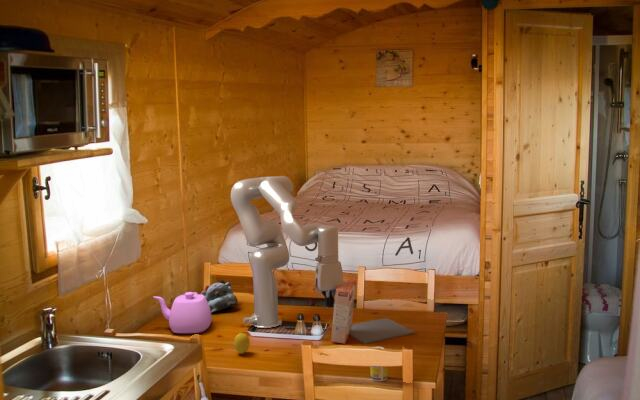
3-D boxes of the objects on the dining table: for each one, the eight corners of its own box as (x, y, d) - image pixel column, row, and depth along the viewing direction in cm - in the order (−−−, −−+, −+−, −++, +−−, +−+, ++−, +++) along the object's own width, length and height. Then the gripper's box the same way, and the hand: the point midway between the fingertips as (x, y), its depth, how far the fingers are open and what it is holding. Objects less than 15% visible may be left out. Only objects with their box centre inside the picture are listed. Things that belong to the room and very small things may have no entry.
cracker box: (346, 344, 258) (351, 291, 253) (330, 342, 259) (334, 289, 254) (352, 330, 271) (356, 279, 267) (337, 328, 272) (341, 277, 268)
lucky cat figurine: (203, 315, 296) (194, 284, 300) (209, 318, 308) (201, 288, 312) (236, 304, 297) (227, 273, 300) (241, 307, 308) (233, 277, 312)
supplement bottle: (384, 374, 229) (384, 344, 228) (389, 381, 224) (389, 350, 222) (368, 376, 228) (368, 346, 227) (372, 382, 223) (372, 352, 221)
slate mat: (364, 343, 258) (364, 342, 258) (337, 328, 276) (337, 327, 276) (414, 333, 269) (414, 331, 269) (386, 319, 286) (386, 317, 286)
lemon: (234, 351, 253) (233, 330, 252) (250, 350, 254) (249, 329, 252) (234, 357, 248) (233, 335, 247) (249, 356, 248) (249, 334, 247)
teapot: (216, 319, 292) (214, 284, 289) (208, 336, 271) (206, 298, 269) (162, 320, 292) (160, 285, 290) (149, 337, 271) (147, 299, 269)
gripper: (315, 263, 252) (316, 312, 254) (350, 258, 258) (351, 306, 261) (305, 259, 258) (307, 307, 261) (340, 254, 265) (341, 301, 268)
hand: (329, 306), depth 261 cm, fingers closed
